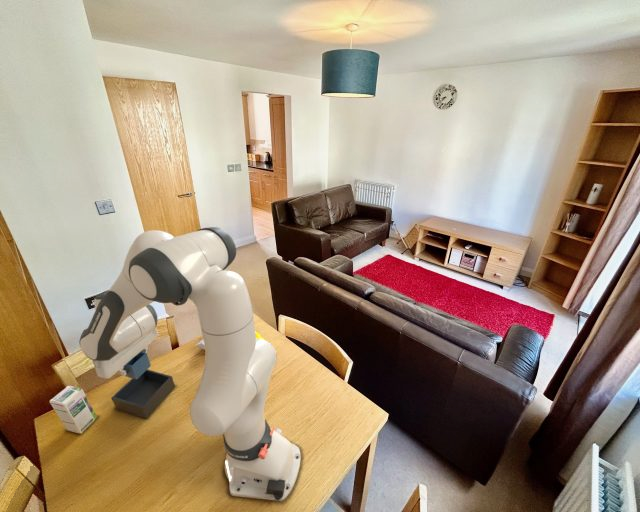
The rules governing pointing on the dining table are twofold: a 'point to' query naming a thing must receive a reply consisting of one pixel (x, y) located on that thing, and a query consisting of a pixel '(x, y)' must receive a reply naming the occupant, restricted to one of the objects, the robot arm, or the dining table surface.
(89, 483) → the dining table surface
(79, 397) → the syrup box
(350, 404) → the dining table surface
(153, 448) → the dining table surface
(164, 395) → the big bin
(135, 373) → the small bin
